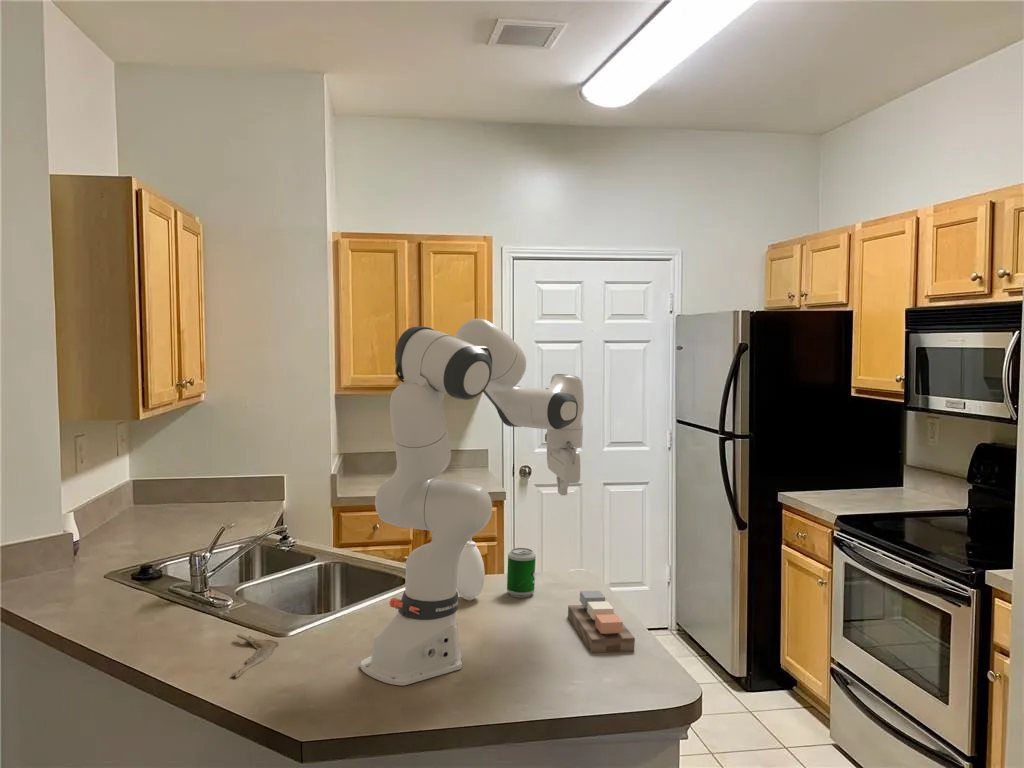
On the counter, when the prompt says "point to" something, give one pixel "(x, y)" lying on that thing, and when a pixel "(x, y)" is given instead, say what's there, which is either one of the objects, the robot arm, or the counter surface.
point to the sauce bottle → (470, 572)
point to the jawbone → (262, 653)
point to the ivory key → (599, 609)
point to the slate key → (590, 597)
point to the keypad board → (598, 633)
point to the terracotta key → (608, 624)
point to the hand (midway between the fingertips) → (562, 494)
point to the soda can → (521, 572)
